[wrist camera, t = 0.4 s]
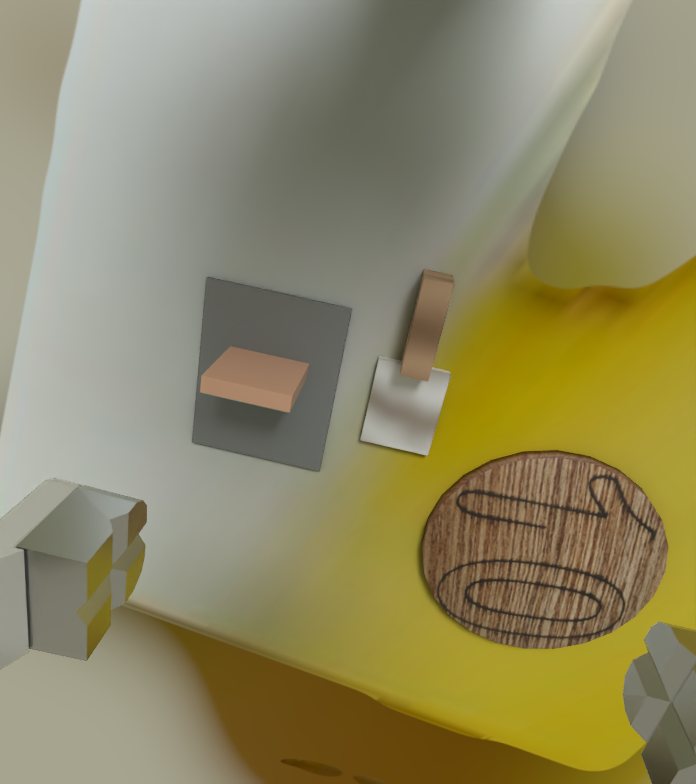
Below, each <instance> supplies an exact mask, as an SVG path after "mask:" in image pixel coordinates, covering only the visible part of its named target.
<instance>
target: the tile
mask: <svg viewBox="0 0 696 784" xmlns="http://www.w3.org/2000/svg"><path fill="white" fill-rule="evenodd" d="M308 369H309V364H308V363H304V362H299V361H295V360H290V359H286V358H281V357H277V356H272V355H268V354H263V353H259V352H254V351H250V350H246V349H241V348H237V347H232V346H230V347H229V348H228V349H227V350H226V351H225V352H224V353H223V354H222V355H221V356H220V357H219V358H218V359H217V360H216V361H215V362H214V363H213V364H212V365H211V366H210V367H209V368H208V369H207V370H206V371H205V372H204V373H203V375H202V376H201V386H200V392H201V393H203V394H207V395H212V396H216V397H221V398H225V399H229V400H234V401H238V402H243V403H247V404H251V405H256V406H260V407H265V408H269V409H273V410H278V411H282V412H287V413H288V412H289V413H290V411H291V409H292V407H293V405H294V403H295V401H296V399H297V397H298V395H299V393H300V391H301V389H302V387H303V385H304V383H305V381H306V379H307V375H308Z"/></svg>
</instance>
